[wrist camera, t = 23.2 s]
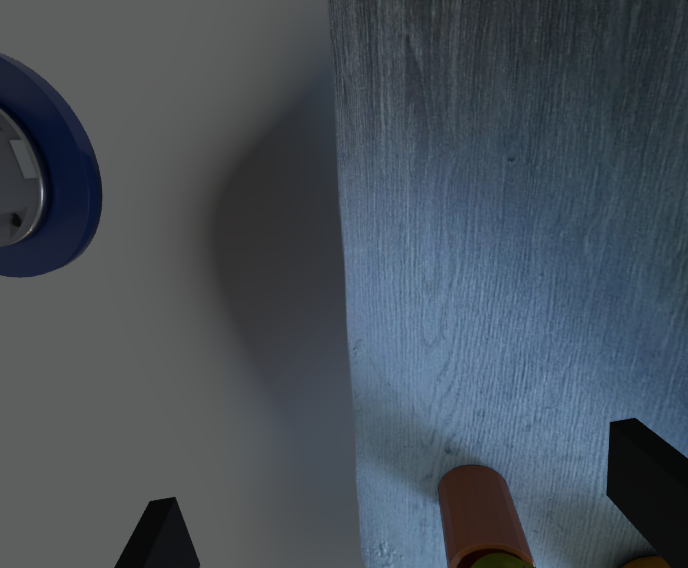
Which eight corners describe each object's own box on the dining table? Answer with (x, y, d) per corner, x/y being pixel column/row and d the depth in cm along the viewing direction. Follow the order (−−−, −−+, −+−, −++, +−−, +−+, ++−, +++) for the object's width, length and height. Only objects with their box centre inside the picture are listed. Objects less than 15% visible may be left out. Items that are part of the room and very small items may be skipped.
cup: (436, 513, 45) (446, 597, 36) (439, 462, 42) (451, 539, 34) (504, 519, 44) (531, 607, 35) (512, 467, 41) (542, 548, 33)
